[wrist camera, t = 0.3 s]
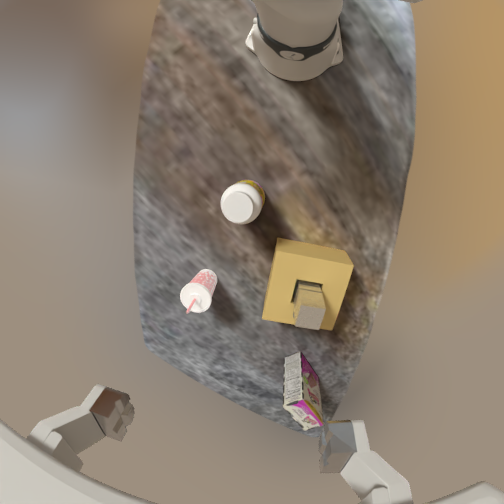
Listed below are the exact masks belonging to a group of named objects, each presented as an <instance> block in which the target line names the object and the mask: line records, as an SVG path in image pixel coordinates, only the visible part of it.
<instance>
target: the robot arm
mask: <svg viewBox="0 0 504 504" xmlns="http://www.w3.org/2000/svg"><path fill="white" fill-rule="evenodd" d="M251 1H253V2H254V4H255V6H256V8H257V13H258V14H257V18H254V20H253V24H254V25H253V27H252V29H251V31H250V33H249V35H248V38H247V40H246V47H247V48H248V49H249V50H251V51H252V52H253V53H255V54H256V55H257V57H258V58H259V60H260V62H261V64H262V65H263V66H264V67H265V68H266V69H267V70H268V71H269V72H270V73H272V74H273V75H275V76H277V77H279V78H282V79H285V80H290V81H305V80H309V79H312V78H315V77H317V76H319V75H320V74H322V73H323V72H324V71H325V70H326V69H327V68H329V67H331V66H334V65H337V64H340V63H341V62H342V61H343V50H342V42H341V35H340V28H339V21H338V18H339V15H340V13H341V10H342V6H343V1H342V0H251ZM400 1H405V2H410V3H416V2H419V1H422V0H400ZM337 52H338V54H337ZM129 400H130V397H129V395H128V394H127V393H124V392H120V391H118V390H114V389H112V388H109V387H106V386H103V385H100V384H97V385H95V387H94V388H93V389H92V391H91V392H90V393H89V395H88V396H87V397H86V399H85V400H84V402H83V403H82V404H81V406H80V407H79V406H76V407H74V408H71V409H69V410H66V411H64V412H62V413H59V414H57V415H54V416H52V417H50V418H47V419H44V420H42V421H39V423H38V424H37V425H36V427H35V428H34V429H33V430H32V432H31V433H30V435H29V436H28V437H27V439H25V438H24V437H23V436H21V435H20V434H19V433H17V432H16V431H15V430H13V429H12V428H11V427H10V426H8V425H7V424H6V423H4V422H3V421H2V420H1V419H0V504H157V503H154V502H151V501H148V500H145V499H142V498H139V497H136V496H133V495H131V494H128V493H125V492H123V491H120V490H118V489H115V488H113V487H111V486H108V485H106V484H104V483H102V482H99V481H97V480H95V479H93V478H91V477H89V476H87V475H85V474H83V473H81V472H79V471H80V469H81V468H82V465H83V462H82V461H81V459H80V458H79V457H78V456H77V454H78V453H80V452H82V451H83V450H85V449H87V448H88V447H90V446H92V445H93V444H94V443H96V442H98V441H100V440H101V439H103V438H104V437H105V436H107V437H110V438H113V439H116V440H118V441H122V439H123V438H124V436H125V434H126V432H127V429H126V426H128V425H130V424H131V423H132V421H133V418H134V407H133V405H132V404H131V403H130V402H129ZM319 452H320V453H321V454H322V456H321V458H320V460H319V462H320V473H339V472H340V474H341V475H342V477H343V478H344V479H345V480H346V482H347V483H348V484H349V485H350V487H351V488H352V489H353V490H354V491H355V493H356V494H357V495H358V497H359V498H360V499H361V500H362V501H361V502H360V503H359V504H413V500H412V495H411V490H410V486H409V482H408V481H407V480H406V479H405V478H404V477H403V476H401V475H400V474H399V473H398V472H397V471H396V470H395V469H393V468H392V467H391V466H390V465H389V464H388V463H387V462H386V461H385V460H383V459H382V458H381V457H380V456H379V455H378V454H377V453H376V452H375V451H370V446H369V441H368V436H367V432H366V427H365V423H364V421H363V420H342V421H326V422H325V425H324V431H322V432H321V435H320V440H319ZM425 504H504V492H503V491H502V490H500V489H499V488H497V487H495V486H493V485H492V484H490V483H488V482H486V481H481V482H478V483H476V484H473V485H471V486H469V487H467V488H464V489H462V490H460V491H457V492H455V493H452V494H450V495H447V496H444V497H442V498H439V499H436V500H433V501H430V502H427V503H425Z"/></svg>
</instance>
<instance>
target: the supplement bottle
mask: <svg viewBox="0 0 504 504" xmlns="http://www.w3.org/2000/svg"><path fill="white" fill-rule="evenodd" d="M264 201H265V193H264V190H263V188H262V187H261V186H260V185H259V184H258V183H257V182H255V181H252V180H242V181H240V182H238V183H236V184H234V185H232V186H230V187H229V188H228V189H226V191H225V192H224V193H223V195H222V198H221V209H222V212H223V214H224V215H225V217H226V218H227V219H228V220H229V221H231V222H233V223H236V224H247V223H249V222H251V221H253V220H254V219H256V218H257V216H258V215H259V213H260V211H261V209H262V207H263V204H264Z"/></svg>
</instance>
